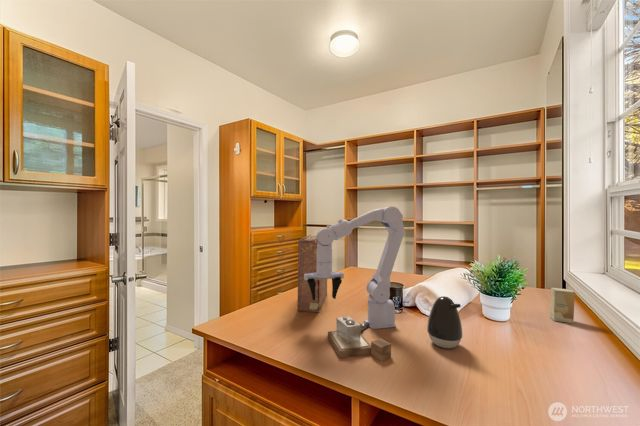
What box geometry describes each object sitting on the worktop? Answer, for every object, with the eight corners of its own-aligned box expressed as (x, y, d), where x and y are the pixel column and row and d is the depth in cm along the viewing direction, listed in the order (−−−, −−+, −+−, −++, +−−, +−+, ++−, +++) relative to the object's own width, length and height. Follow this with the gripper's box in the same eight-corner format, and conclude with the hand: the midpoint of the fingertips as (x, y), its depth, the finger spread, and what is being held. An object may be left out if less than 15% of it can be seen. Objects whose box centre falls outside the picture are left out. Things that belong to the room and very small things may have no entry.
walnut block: (380, 351, 82) (380, 338, 82) (390, 357, 79) (391, 343, 78) (370, 355, 80) (371, 341, 80) (381, 361, 76) (381, 347, 76)
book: (309, 293, 139) (309, 234, 139) (327, 294, 137) (327, 235, 137) (297, 311, 114) (298, 239, 114) (319, 313, 112) (320, 240, 112)
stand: (356, 334, 93) (356, 327, 93) (372, 354, 80) (372, 346, 80) (327, 337, 90) (327, 330, 90) (339, 358, 78) (339, 350, 78)
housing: (348, 331, 90) (348, 314, 90) (360, 341, 83) (360, 323, 83) (336, 333, 88) (336, 316, 88) (347, 344, 81) (347, 325, 81)
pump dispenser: (448, 356, 80) (448, 304, 79) (420, 340, 89) (420, 294, 89) (470, 348, 84) (470, 299, 84) (441, 334, 93) (442, 290, 93)
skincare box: (553, 321, 106) (554, 289, 106) (549, 317, 110) (549, 287, 110) (574, 323, 104) (575, 291, 104) (569, 319, 108) (569, 289, 108)
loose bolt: (364, 325, 100) (364, 318, 101) (370, 327, 99) (370, 319, 99) (355, 331, 96) (355, 323, 96) (362, 332, 94) (361, 324, 94)
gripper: (339, 259, 105) (339, 294, 105) (302, 260, 102) (302, 296, 102) (345, 262, 98) (345, 299, 99) (306, 263, 95) (305, 302, 95)
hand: (323, 298), depth 100 cm, fingers open, 7 cm apart
